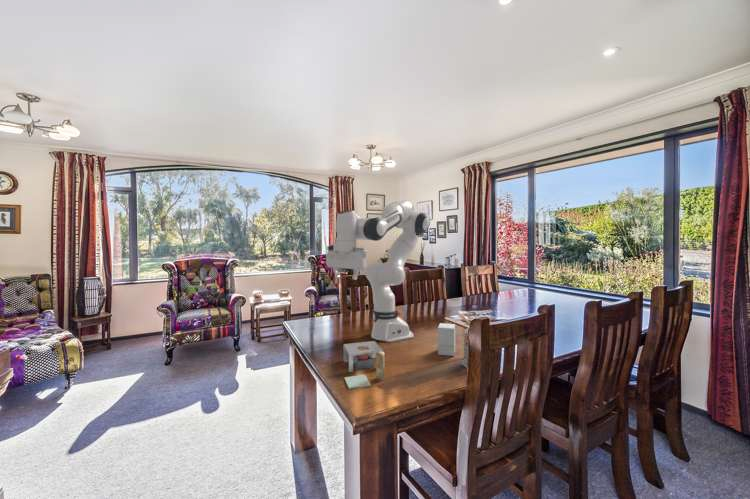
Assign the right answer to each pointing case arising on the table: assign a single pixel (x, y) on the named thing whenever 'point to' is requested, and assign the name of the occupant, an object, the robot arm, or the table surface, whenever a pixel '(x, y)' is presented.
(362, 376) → the coaster
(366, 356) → the button
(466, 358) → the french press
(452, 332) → the supplement box
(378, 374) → the dowel
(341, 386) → the table surface
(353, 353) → the box
